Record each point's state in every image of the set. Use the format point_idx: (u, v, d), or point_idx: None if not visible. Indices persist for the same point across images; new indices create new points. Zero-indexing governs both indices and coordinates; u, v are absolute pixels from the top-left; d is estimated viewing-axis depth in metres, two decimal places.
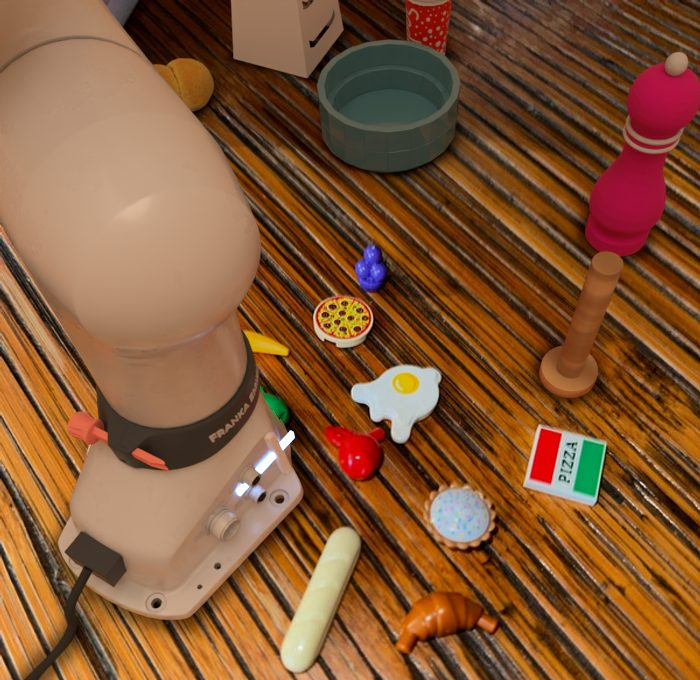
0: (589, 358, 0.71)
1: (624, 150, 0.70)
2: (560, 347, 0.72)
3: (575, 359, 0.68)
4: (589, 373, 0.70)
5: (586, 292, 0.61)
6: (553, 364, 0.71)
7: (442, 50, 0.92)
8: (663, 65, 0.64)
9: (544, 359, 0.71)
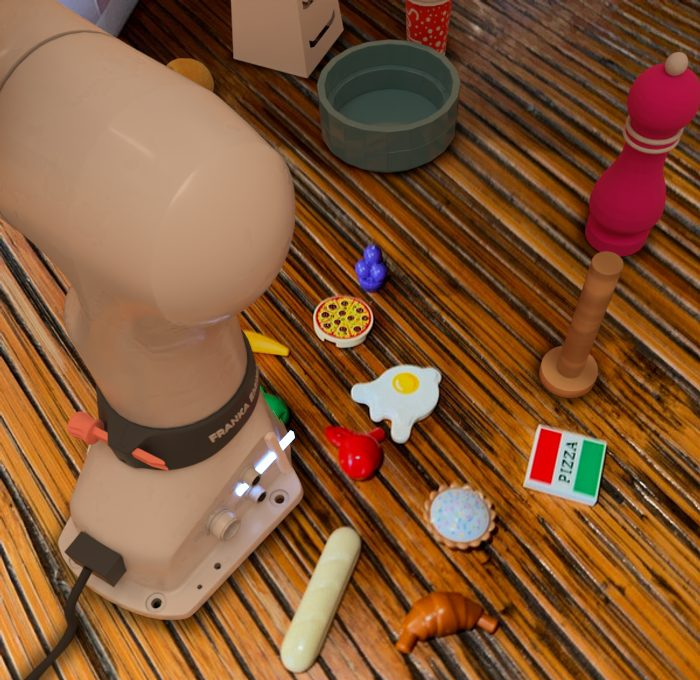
0: (589, 358, 0.71)
1: (624, 150, 0.70)
2: (560, 347, 0.72)
3: (575, 359, 0.68)
4: (589, 373, 0.70)
5: (586, 292, 0.61)
6: (553, 364, 0.71)
7: (442, 50, 0.92)
8: (663, 65, 0.64)
9: (544, 359, 0.71)
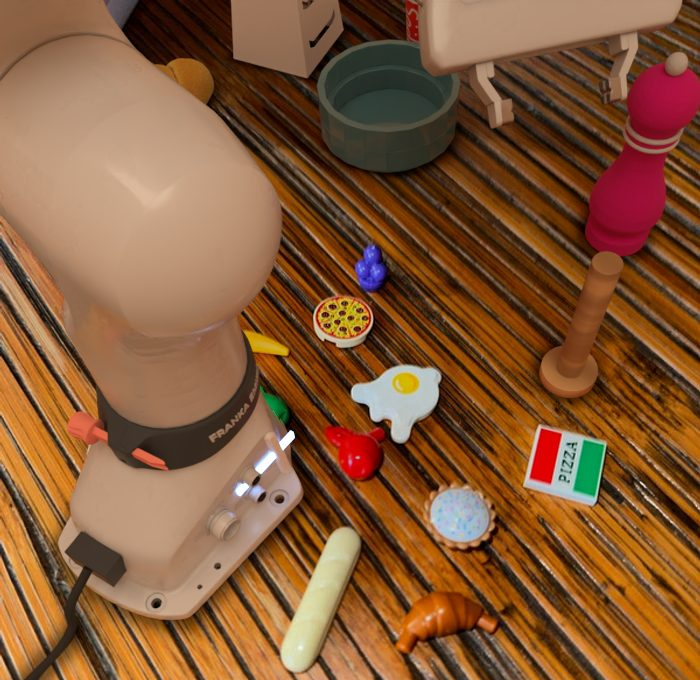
0: (589, 358, 0.71)
1: (624, 150, 0.70)
2: (560, 347, 0.72)
3: (575, 359, 0.68)
4: (589, 373, 0.70)
5: (586, 292, 0.61)
6: (553, 364, 0.71)
7: None
8: (663, 65, 0.64)
9: (544, 359, 0.71)
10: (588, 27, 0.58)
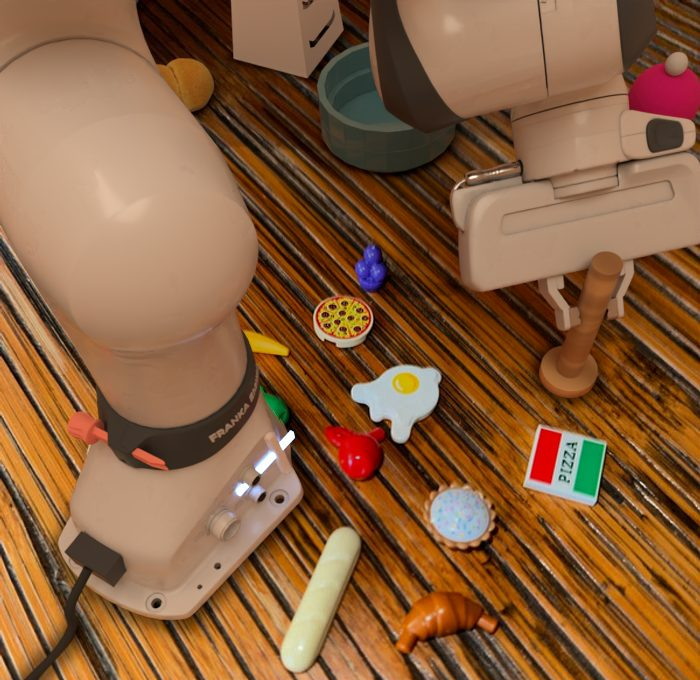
0: (589, 358, 0.71)
1: None
2: (560, 347, 0.72)
3: (575, 359, 0.68)
4: (589, 373, 0.70)
5: (585, 292, 0.61)
6: (553, 364, 0.71)
7: None
8: (663, 65, 0.64)
9: (544, 359, 0.71)
10: (620, 252, 0.61)
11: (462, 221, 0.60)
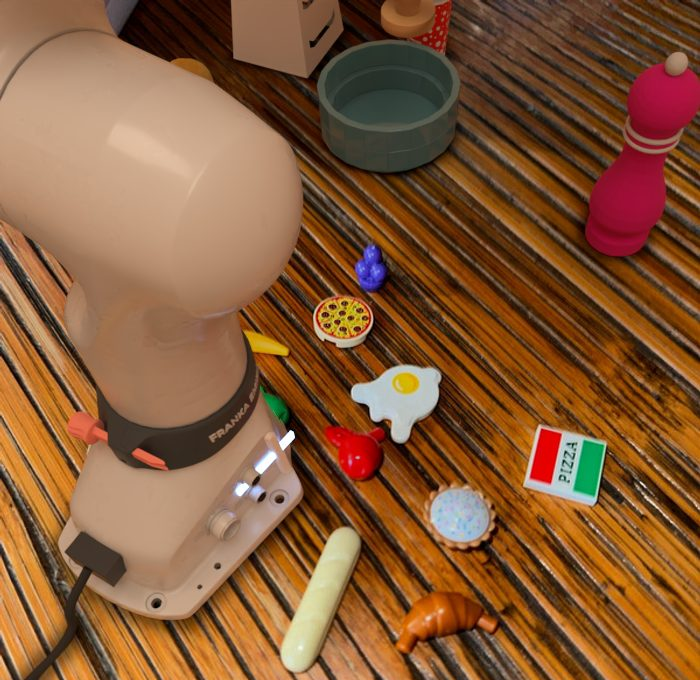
0: (428, 1, 0.73)
1: (624, 150, 0.70)
2: None
3: None
4: (426, 12, 0.72)
5: None
6: (392, 7, 0.73)
7: (442, 50, 0.92)
8: (663, 65, 0.64)
9: (384, 3, 0.73)
10: None
11: None
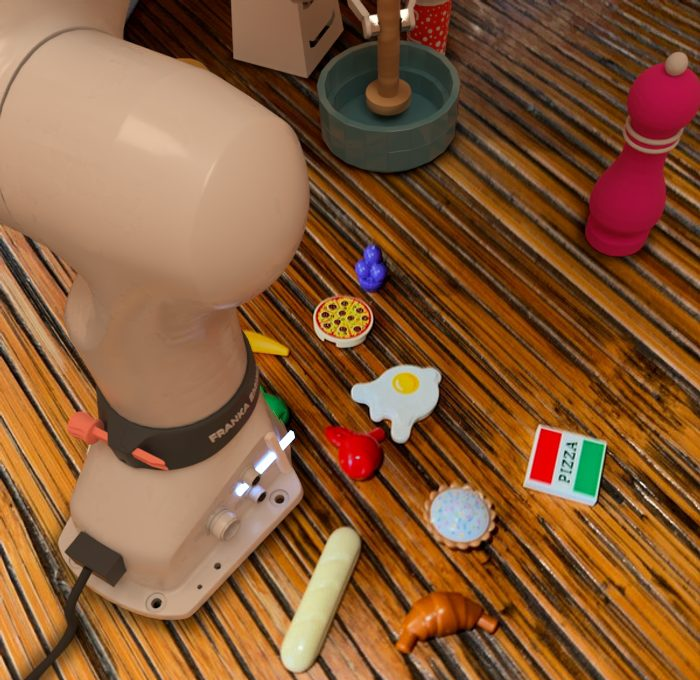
0: (405, 85, 0.87)
1: (624, 150, 0.70)
2: None
3: (386, 74, 0.84)
4: (403, 94, 0.86)
5: None
6: (375, 89, 0.87)
7: (442, 50, 0.92)
8: (663, 65, 0.64)
9: (369, 86, 0.87)
10: None
11: None
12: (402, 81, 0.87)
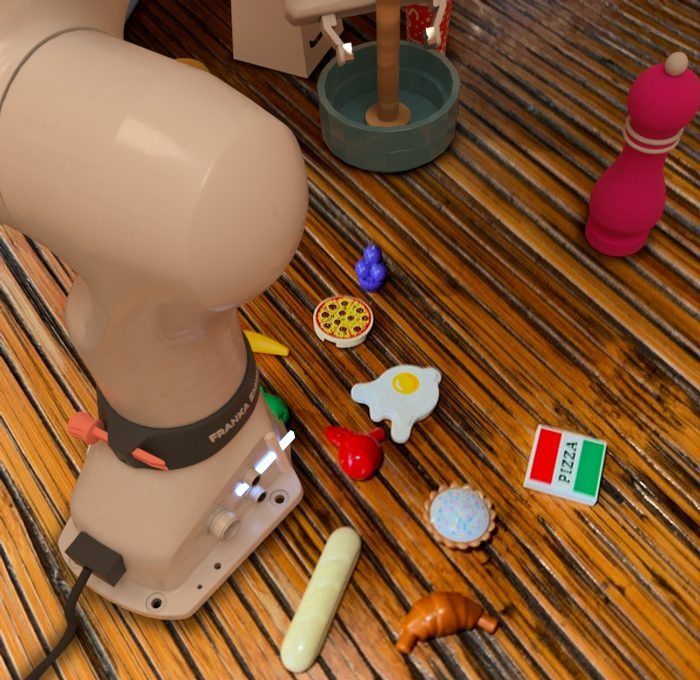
0: (404, 108, 0.87)
1: (624, 150, 0.70)
2: None
3: (385, 99, 0.84)
4: (403, 118, 0.87)
5: (377, 23, 0.77)
6: (375, 113, 0.87)
7: (442, 50, 0.92)
8: (663, 65, 0.64)
9: (368, 110, 0.88)
10: None
11: None
12: (402, 105, 0.88)
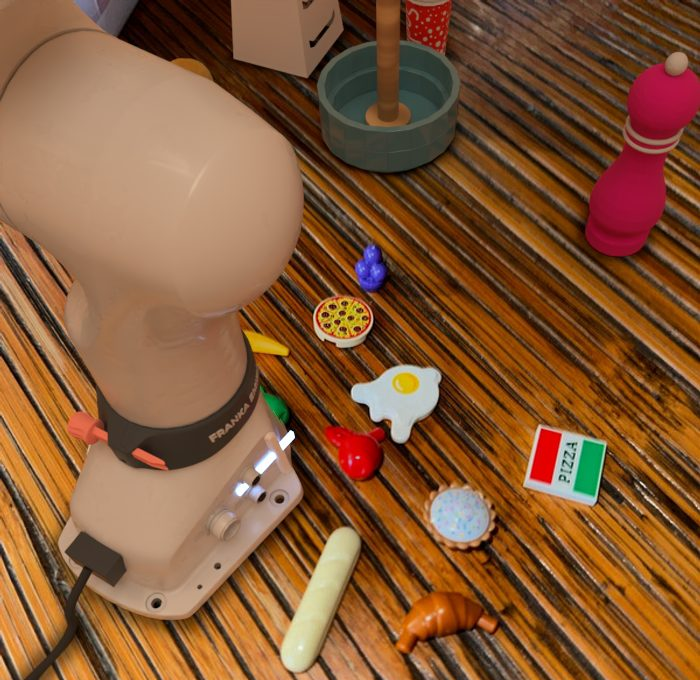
0: (404, 108, 0.87)
1: (624, 150, 0.70)
2: None
3: (385, 99, 0.84)
4: (403, 118, 0.87)
5: (377, 23, 0.77)
6: (375, 113, 0.87)
7: (442, 50, 0.92)
8: (663, 65, 0.64)
9: (368, 110, 0.88)
10: None
11: None
12: (402, 105, 0.88)
